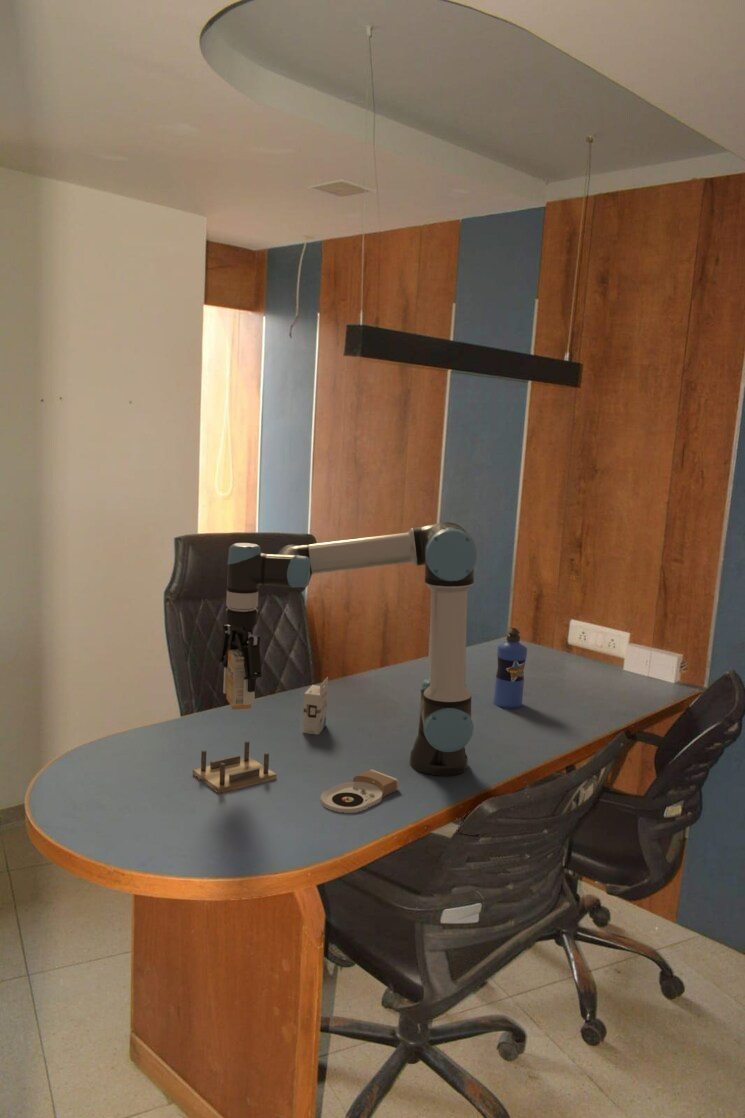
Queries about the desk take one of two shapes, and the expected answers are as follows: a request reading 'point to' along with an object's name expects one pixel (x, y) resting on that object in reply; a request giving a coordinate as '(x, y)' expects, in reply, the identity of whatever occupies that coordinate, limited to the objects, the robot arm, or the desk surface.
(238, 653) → the supplement box
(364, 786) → the record player
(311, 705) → the ink box
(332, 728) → the desk surface
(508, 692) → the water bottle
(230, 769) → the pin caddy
